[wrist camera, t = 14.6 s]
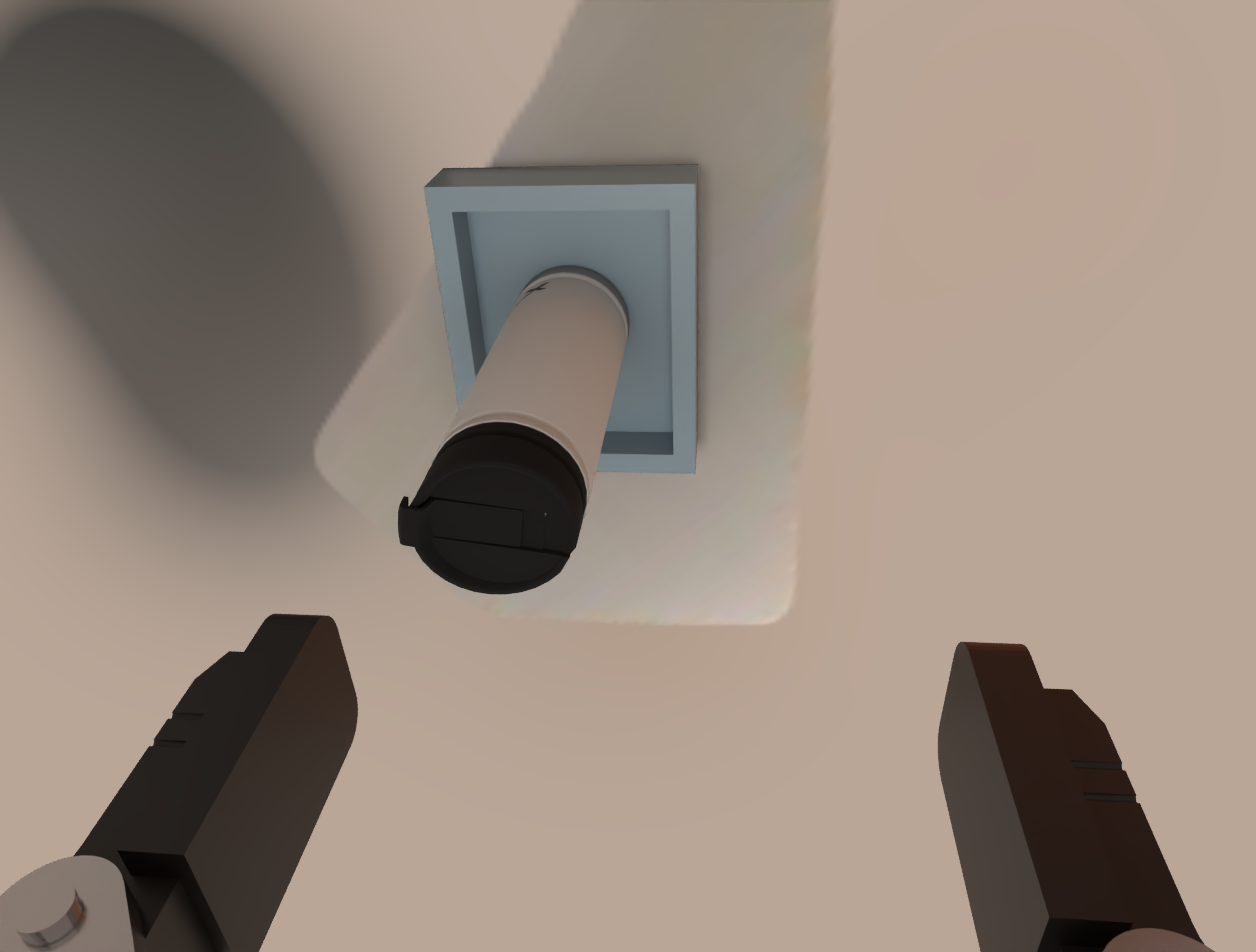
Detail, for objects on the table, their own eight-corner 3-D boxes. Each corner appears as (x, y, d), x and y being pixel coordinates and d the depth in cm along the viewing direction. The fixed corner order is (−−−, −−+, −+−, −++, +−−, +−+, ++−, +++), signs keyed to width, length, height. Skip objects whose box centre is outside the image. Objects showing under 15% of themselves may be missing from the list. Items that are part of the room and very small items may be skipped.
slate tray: (443, 168, 47) (423, 187, 44) (698, 164, 45) (695, 183, 42) (482, 438, 55) (468, 469, 52) (697, 441, 54) (695, 473, 51)
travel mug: (513, 254, 48) (393, 452, 31) (637, 274, 48) (584, 483, 31) (506, 361, 51) (395, 591, 35) (622, 380, 51) (567, 620, 34)
